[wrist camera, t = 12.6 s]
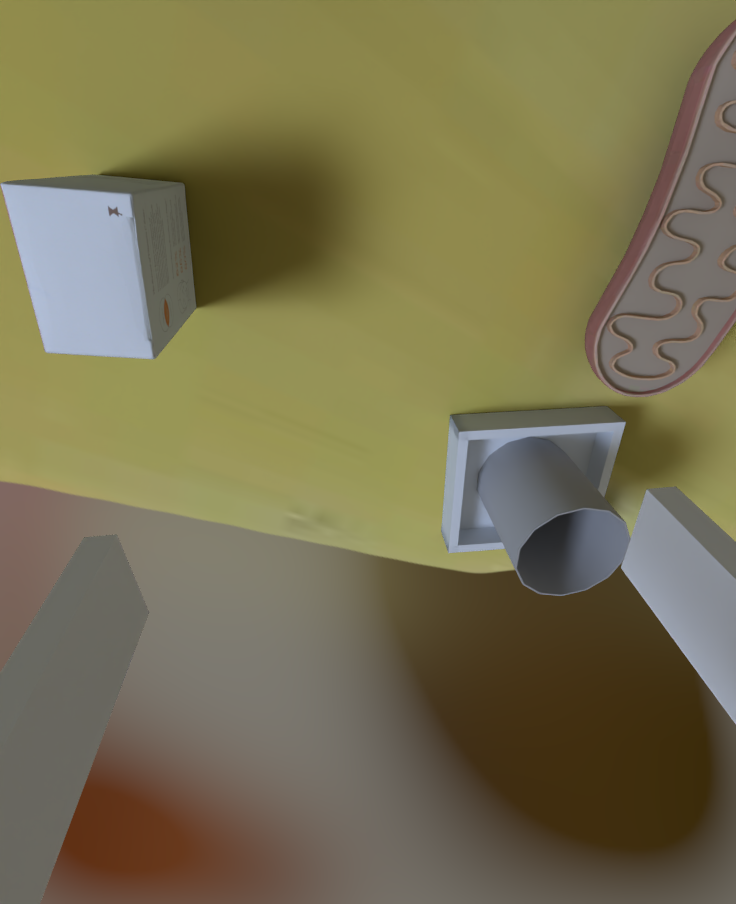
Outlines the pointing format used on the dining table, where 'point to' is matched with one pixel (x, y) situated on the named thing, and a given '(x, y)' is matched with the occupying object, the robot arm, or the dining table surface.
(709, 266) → the mitochondrion model
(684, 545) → the robot arm
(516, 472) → the cup
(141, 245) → the small box
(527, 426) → the grey tray
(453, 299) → the dining table surface
